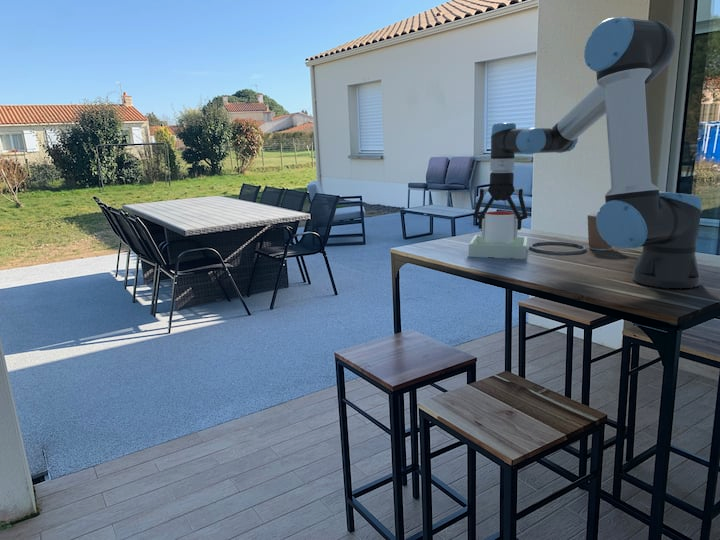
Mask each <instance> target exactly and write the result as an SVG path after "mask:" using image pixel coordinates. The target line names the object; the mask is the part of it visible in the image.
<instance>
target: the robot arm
mask: <svg viewBox="0 0 720 540" xmlns="http://www.w3.org/2000/svg"><path fill="white" fill-rule="evenodd" d="M675 49H676V36H675V34H674V32H673V30H672V28H671V27H670V26H669V25H667V24H666V23H664V22H662V21H659V20H653V19H652V20H651V19H650V20H648V19H640V18H638V19H637V18H630V17H628V16H622V17H620V16H619V17H610V18H607V19H604V20H602V22H600V23H598V24H597V26H596V27H595V28H593V30H592V32H591V34H590V36H588V38H587V41H586V43H585V46H584V54H583V55H584V57H583V58H584V63H585V65H586V66H587V67H589V69H590V70H591V71H593V72H596V86H594V88H593V89H592V90H591V91H590V92H589V93H588V94H587V95H585V96H584V97H583V99H582V100H581V101H580V102H578V103H577V104H576V105H575V106H574V107H573V108H572V109H571V110H570V111H569V112H567V114H565V116H563V117H562V118H561V119H560V120H559V121H558V122H556V124H555V125H553V126H552V127H534V126H533V127H524V128H517V125H516V123H515V122H498V123H497V122H496V123H494V124H493V125H492V127H491V135H490V138H491V139H490V169H489V171H490V174H489V186H488V188H483V187H481V188H480V189H479V197H478V200H477V204H476V207H475V210H474V213H473V218H476V219H477V220H478V229H479V230H481V235H482V238H481V239H484V225H485V213H486V212H488V210H489V209H490V208H491V206H492V204H493V203H494V201H496V202H497V201H503V202H505V201H507V203H508V205H509V206H510V208H511V210H512V212H514V213H515V215H516V220H515V239H514V240H517V237H518V231H521V230H522V221H523V220H525V219H527V218H528V213H527V207H526V204H525V200H524V197H523V194H524V192H523V191H524V189H523V188H515V186H514V180H515V179H514V178H515V176H514V170H515V159H516V158H515V154H524V155H525V154H526V155H532V154H542V153H544V154H545V153H546V154H547V153H548V154H549V153H550V154H551V153H557V154H559V153H560V154H561V153H566V152H571V151H572V150H574V149H575V147H576V145H577V143H578V141H579V139H578V138H579V137H580V136H581V135H583V134H584V132H587V130H589V128H591V127H592V126H593V125H594V124H595V123H597V122H598V121H599V120H600V119H602V118H603V116H605V118H606V119H605V120H606V131H607V140H608V141H607V143H608V145H607V146H608V147H607V148H608V159H609V174H610V186H611V187H610V189H609V190H608V191H607V192H606V193H605V195H604V199H605V203H604V204H603V205H602V206H601V207H600V208H599V211H597V212H598V213H597V218H596V225H597V229H598V232H599V234H600V236H601V237H602V239H603V240H605V241H606V242H607V243H608V244H609V245H611V246H612V248H616V249H637V248H641V247H642V252H641V253H640V256H639V258H638V260H637V262H636V264H635V266H634V267H633V270H632V280H633V281H634V282H636V283H638V284H641V285H644V286H648V285H649V286H648V287H653V286H654V288H659V287H662V288H661V289H669V288H677V289H676V290H682V289H681V288H690V289H694V288H693V287H695V288H697V286H698V287H699V286H700V282H701V274H700V270H699V266H698V265H699V264H698V262H697V261H698V260H697V258H696V251H697V246H698V245H697V244H698V237H699V228H700V221H701V216H702V213H703V210H702V207H703V206H702V205H703V204H702V203H703V200H702V198H701V197H700V196H699V195H697V194H691V193H690V194H688V193H678V192H670V191H660V188H659V187H657V186H656V185H655V184H653V182H652V175H651V174H652V173H651V161H650V160H651V159H650V144H649V131H648V130H649V128H648V114H647V113H648V112H647V101H646V100H647V97H646V96H647V95H646V85H648V84H649V83H650V82H652V80H654V79H655V78H656V77H657V76H659V74H660V73H662V71H664V69H665V68H666V67H667V66H668V64H669V63H670V62H671V59H673V58H672V57H673V56H674V53H675ZM487 192H488V194H489V195H490V196H491V197H490V198H489V200H488V202H487V203H486V205H485V207H484V209H483V210H482V212H481V213H480V209H481V207H482V203H483V200H484V198H485V195H486V194H487ZM514 193H515V195H516V196H518V201H519V204H520V205H519V206H520V208H521V212H522V215H521V213H520V211H519V209H518V208H517V206H516V204H515V203H514V201H513V199H512V197H511V196H512V195H513V194H514ZM479 213H480V214H479ZM678 288H680V289H678Z"/></svg>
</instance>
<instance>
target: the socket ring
mask: <svg viewBox="0 0 720 540" xmlns="http://www.w3.org/2000/svg"><path fill="white" fill-rule="evenodd" d="M544 244H556V245H555V246H569V247H575V248H578V250H576V249H575V250H550V249H544V248H543V249H542V248H538V246H545V245H544ZM528 245H529V247H528V249H529V250H530V251H532V250H533V251H532V252H535V251H536V253H540V252H541V254H546V253H547V255H560V254H561V256H562V255H564V256H566V255H567V256H569V255H580V254H584V253H587V252H588V248H587V246H586V245H584V244H580V243H578V242H577V243H576V242H568V241H555V240H554V241H551V240H545V241H536V242H531V243H529V244H528ZM537 245H538V246H537ZM533 246H534V247H533Z"/></svg>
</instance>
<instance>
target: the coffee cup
mask: <svg viewBox="0 0 720 540" xmlns="http://www.w3.org/2000/svg"><path fill="white" fill-rule="evenodd" d="M598 212H599V211H593V212H587V213H586V215H587V232H588V233H587V237H588V239H587V240H588V248H589V250H594V251H611V250H612V248H613V246H611V245H609V244H608V243H607V242H606V241H605V240H603V239H602V237H601V236H600V234H599V232H598V229H597V225H596V218H597V213H598Z"/></svg>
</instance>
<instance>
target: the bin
mask: <svg viewBox="0 0 720 540" xmlns="http://www.w3.org/2000/svg"><path fill="white" fill-rule="evenodd" d="M481 238H482V234H481V235H479V234H478V235H477V234H476V235H475V234H474V236H473V237H472V239H471V241H470V242H469V243H468V257H471V258H473V257H474V258H488V257H494V258H493V259H496V258H497V259H510V258H514V259H515V260H527V251H528V250H527V249H528V236H517V240H514V242H513V243H511V244H505V245H496V244H489V243H487V242H485V240H484V239H481Z"/></svg>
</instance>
